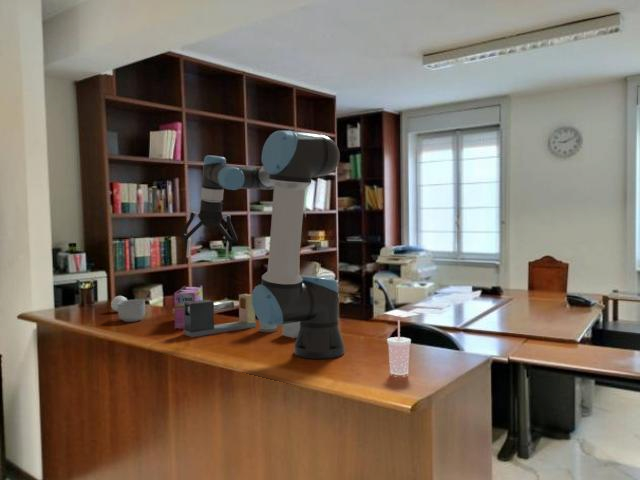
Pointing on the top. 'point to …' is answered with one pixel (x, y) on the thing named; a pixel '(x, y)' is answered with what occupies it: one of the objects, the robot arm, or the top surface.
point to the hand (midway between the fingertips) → (207, 258)
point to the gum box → (185, 296)
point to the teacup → (131, 310)
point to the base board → (221, 329)
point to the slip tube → (219, 306)
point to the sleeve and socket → (204, 313)
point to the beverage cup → (399, 353)
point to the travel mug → (264, 327)
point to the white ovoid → (116, 300)
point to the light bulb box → (291, 329)
